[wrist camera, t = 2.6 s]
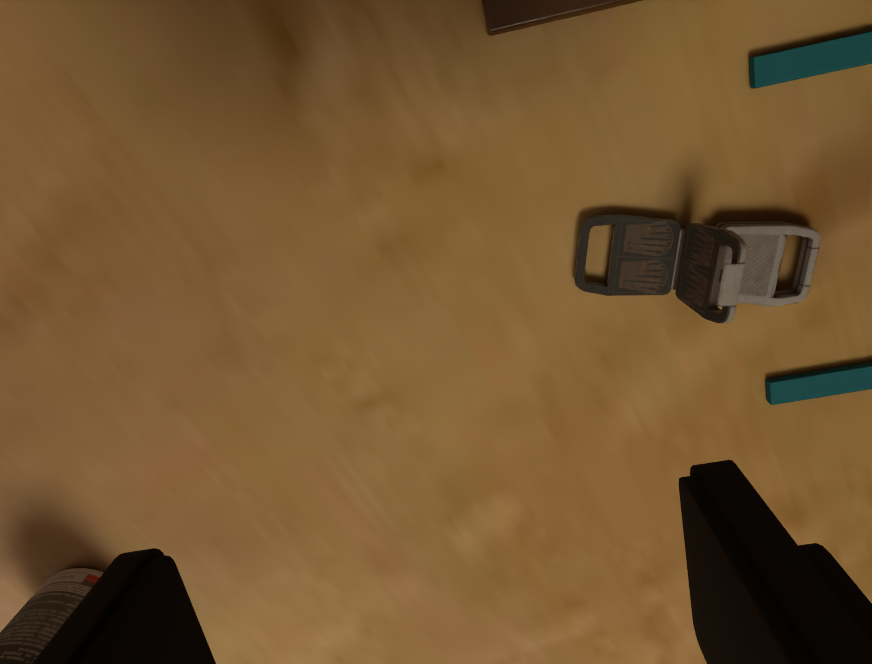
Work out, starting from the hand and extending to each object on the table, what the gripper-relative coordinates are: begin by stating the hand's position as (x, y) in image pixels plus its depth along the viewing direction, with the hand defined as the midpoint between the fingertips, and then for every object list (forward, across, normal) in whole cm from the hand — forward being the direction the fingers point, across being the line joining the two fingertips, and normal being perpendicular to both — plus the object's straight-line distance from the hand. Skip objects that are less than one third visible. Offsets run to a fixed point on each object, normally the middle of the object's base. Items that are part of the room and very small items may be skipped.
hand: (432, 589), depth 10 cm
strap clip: (+16, -9, 0) cm, 18 cm away
